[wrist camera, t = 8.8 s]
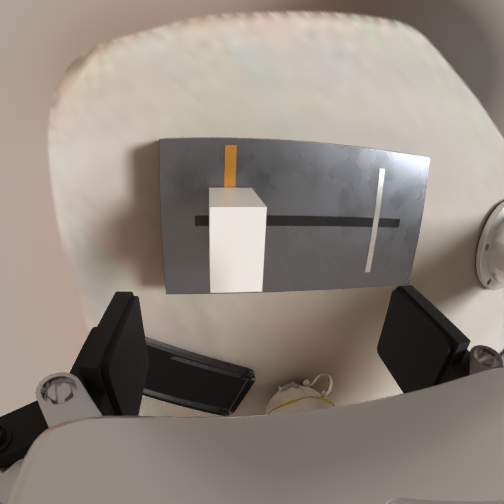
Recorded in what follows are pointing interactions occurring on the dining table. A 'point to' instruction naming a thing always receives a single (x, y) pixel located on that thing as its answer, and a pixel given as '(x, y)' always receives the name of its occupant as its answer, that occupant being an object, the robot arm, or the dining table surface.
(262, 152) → the fader console
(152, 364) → the phone
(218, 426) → the robot arm
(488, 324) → the dining table surface
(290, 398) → the chinaware
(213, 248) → the fader tab
